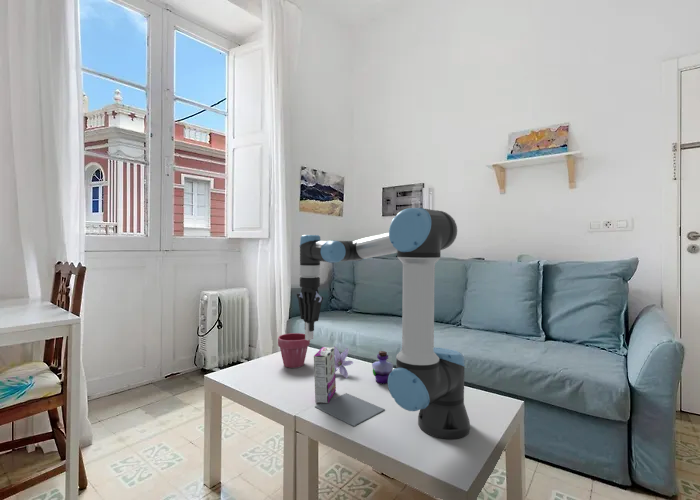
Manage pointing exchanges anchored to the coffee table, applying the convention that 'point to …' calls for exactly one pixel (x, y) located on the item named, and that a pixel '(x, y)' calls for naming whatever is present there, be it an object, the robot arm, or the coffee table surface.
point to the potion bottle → (382, 368)
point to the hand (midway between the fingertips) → (309, 339)
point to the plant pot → (293, 349)
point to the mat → (350, 409)
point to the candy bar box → (324, 374)
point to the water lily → (341, 361)
